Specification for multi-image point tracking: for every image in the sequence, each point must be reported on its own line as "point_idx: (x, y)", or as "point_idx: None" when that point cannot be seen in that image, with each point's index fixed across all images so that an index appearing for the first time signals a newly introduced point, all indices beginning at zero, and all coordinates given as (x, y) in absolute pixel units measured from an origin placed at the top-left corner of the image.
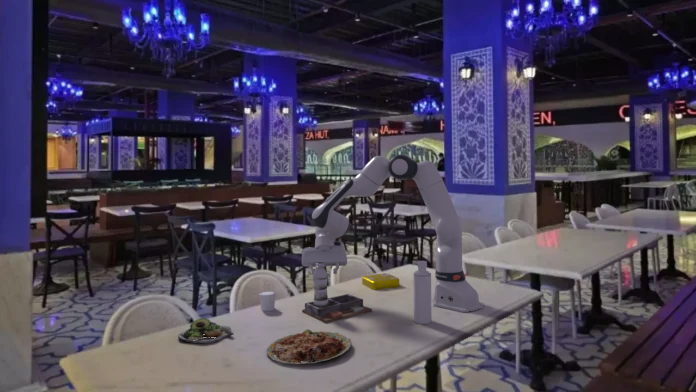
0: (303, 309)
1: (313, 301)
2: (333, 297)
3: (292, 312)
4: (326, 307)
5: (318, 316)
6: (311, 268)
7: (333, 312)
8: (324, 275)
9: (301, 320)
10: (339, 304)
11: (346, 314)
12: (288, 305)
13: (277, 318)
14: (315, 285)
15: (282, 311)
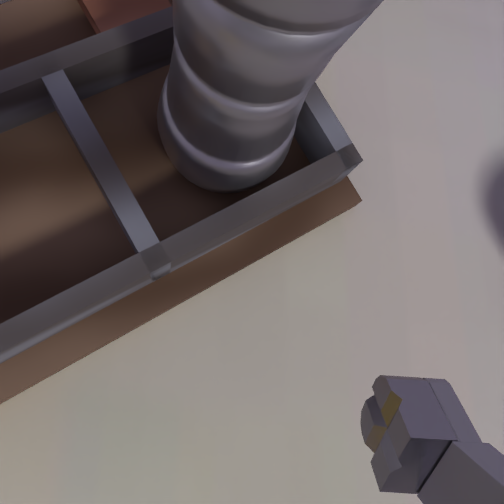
0: (353, 200)
1: (292, 191)
2: (90, 287)
3: (420, 210)
4: None
5: None
6: (497, 455)
7: (133, 1)
8: None
9: (350, 38)
10: (63, 52)
11: (31, 11)
12: (468, 391)
13: (496, 110)
14: None
15: (489, 246)
